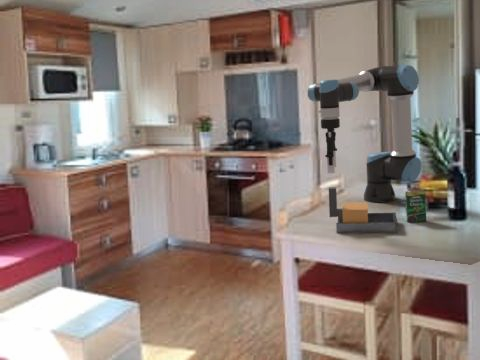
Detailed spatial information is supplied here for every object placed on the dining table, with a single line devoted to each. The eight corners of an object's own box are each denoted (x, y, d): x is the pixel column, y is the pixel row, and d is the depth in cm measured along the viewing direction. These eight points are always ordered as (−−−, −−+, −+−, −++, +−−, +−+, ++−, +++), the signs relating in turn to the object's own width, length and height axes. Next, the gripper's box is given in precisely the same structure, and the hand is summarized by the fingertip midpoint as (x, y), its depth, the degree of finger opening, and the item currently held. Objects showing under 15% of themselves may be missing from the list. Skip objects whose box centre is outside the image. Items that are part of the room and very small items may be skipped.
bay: (336, 233, 229) (336, 223, 228) (338, 222, 244) (337, 213, 243) (397, 232, 223) (397, 223, 223) (395, 221, 239) (395, 212, 238)
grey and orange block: (329, 228, 231) (327, 191, 228) (330, 220, 242) (329, 185, 239) (368, 228, 227) (367, 190, 224) (367, 220, 239) (366, 184, 236)
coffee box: (406, 222, 237) (406, 192, 234) (405, 220, 239) (405, 190, 237) (426, 222, 235) (426, 191, 233) (425, 220, 238) (425, 190, 235)
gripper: (322, 115, 240) (324, 164, 245) (318, 122, 217) (320, 176, 221) (340, 114, 239) (342, 164, 243) (338, 121, 215) (340, 175, 219)
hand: (332, 169), depth 232 cm, fingers open, 13 cm apart
